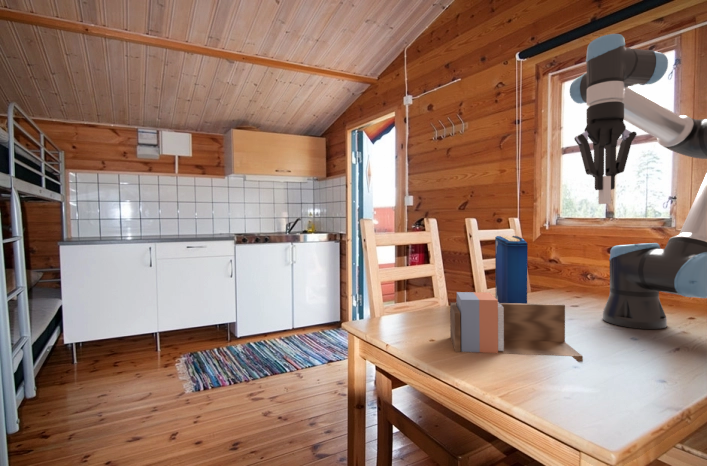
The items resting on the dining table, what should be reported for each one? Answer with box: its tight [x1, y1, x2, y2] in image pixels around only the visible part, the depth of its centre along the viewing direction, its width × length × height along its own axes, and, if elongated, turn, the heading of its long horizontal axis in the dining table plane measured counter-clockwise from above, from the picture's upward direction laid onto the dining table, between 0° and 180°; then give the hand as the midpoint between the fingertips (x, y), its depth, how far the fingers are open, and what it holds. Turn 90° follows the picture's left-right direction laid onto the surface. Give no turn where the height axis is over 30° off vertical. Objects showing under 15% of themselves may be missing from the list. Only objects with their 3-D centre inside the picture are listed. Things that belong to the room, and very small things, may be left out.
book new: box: [473, 291, 498, 354], centre depth 91 cm, size 4×9×12 cm, turn 171°
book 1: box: [456, 291, 480, 353], centre depth 91 cm, size 4×9×12 cm, turn 171°
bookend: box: [498, 302, 504, 351], centre depth 91 cm, size 1×8×10 cm, turn 171°
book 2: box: [494, 235, 529, 304], centre depth 129 cm, size 22×7×25 cm, turn 168°
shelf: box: [449, 301, 584, 362], centre depth 91 cm, size 27×11×10 cm, turn 81°
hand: (604, 203), depth 92 cm, fingers closed
